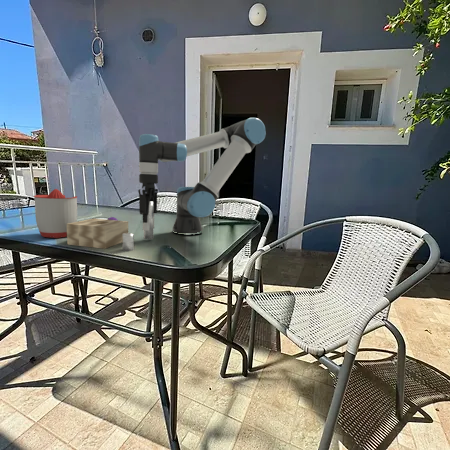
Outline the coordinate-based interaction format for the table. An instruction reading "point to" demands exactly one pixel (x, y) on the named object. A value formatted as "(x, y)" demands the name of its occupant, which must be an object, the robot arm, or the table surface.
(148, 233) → the long pin
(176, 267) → the table surface
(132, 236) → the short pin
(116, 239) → the hole block
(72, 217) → the citrus juicer
